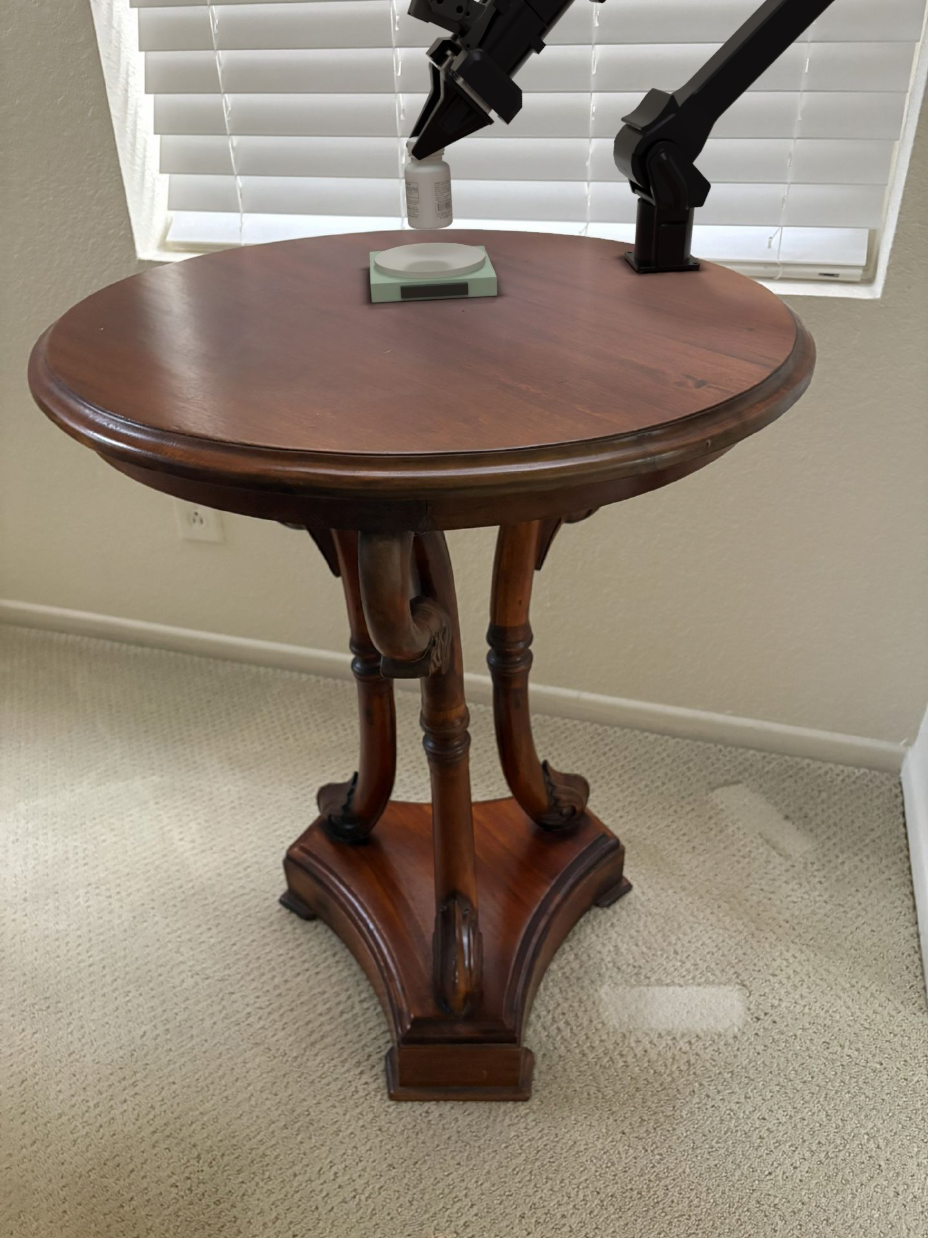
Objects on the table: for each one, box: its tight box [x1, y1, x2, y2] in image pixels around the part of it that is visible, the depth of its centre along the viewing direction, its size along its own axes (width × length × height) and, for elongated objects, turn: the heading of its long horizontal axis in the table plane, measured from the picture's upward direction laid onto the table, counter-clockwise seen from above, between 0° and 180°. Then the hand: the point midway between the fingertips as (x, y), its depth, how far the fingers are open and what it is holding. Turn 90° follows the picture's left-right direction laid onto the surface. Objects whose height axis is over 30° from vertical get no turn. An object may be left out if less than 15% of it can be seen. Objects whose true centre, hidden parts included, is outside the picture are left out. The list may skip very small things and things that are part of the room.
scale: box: [369, 242, 498, 303], centre depth 100 cm, size 12×12×2 cm
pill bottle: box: [403, 137, 454, 231], centre depth 96 cm, size 4×4×8 cm
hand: (411, 153), depth 94 cm, fingers closed on pill bottle, 3 cm apart
